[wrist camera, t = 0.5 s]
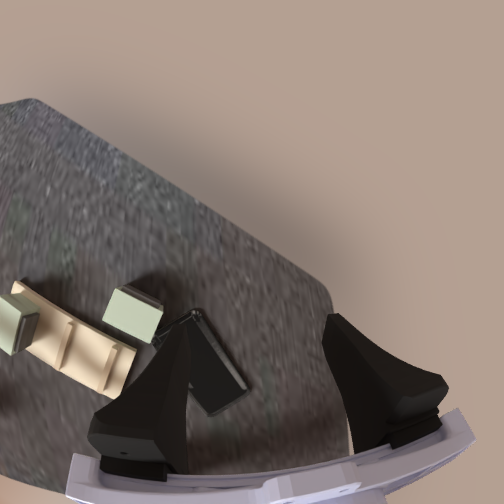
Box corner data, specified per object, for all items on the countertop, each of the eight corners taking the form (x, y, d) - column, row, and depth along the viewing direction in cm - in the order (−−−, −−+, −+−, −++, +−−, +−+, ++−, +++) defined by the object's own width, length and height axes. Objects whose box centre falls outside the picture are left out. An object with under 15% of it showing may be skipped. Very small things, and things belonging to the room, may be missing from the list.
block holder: (119, 396, 32) (111, 421, 25) (5, 329, 27) (-20, 338, 20) (137, 349, 33) (131, 366, 26) (19, 280, 28) (-7, 281, 21)
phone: (197, 307, 36) (253, 392, 37) (196, 306, 37) (250, 389, 38) (146, 337, 33) (207, 420, 34) (147, 335, 34) (206, 416, 36)
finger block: (151, 332, 34) (149, 343, 29) (111, 313, 33) (102, 320, 27) (165, 302, 35) (165, 307, 29) (124, 282, 34) (117, 283, 28)
